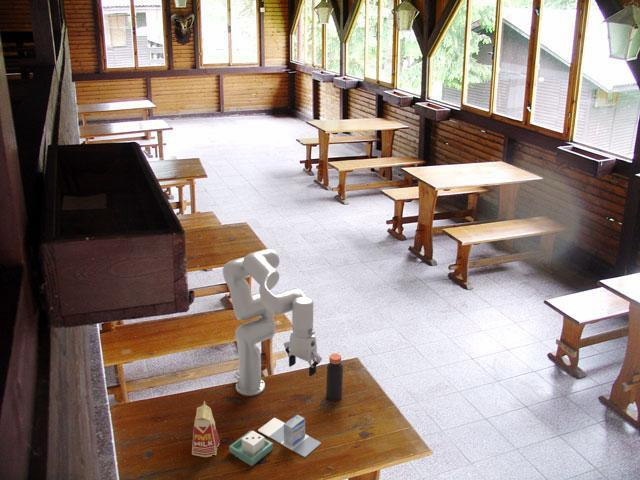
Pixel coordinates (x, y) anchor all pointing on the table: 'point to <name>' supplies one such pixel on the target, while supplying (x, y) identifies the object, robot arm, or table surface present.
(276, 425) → the track
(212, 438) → the milk carton
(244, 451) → the die
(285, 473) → the table surface
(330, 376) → the bottle
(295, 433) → the medicine box
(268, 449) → the dice tray
